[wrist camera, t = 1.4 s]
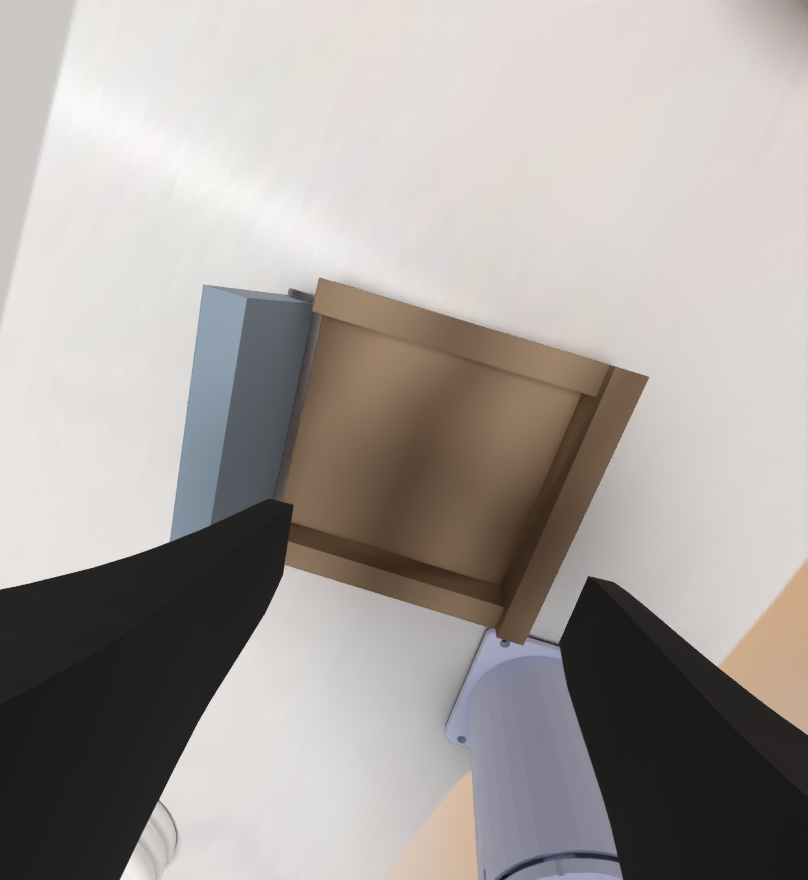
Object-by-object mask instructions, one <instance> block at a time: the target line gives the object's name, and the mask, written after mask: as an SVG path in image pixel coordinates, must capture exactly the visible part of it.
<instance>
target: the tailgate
mask: <svg viewBox="0 0 808 880" xmlns="http://www.w3.org/2000/svg"><path fill="white" fill-rule="evenodd" d="M314 296H315V295H313V294H310V293H307V292H303V291H300V290H296V289H292V288H289V291H288V295H282V294H274V293H266V292H258V291H250V290H242V289H234V288H226V287H218V286H210V285H203V291H202V299H201V306H200V314H199V322H198V329H197V337H196V345H195V352H194V360H193V368H192V375H191V383H190V391H189V399H188V406H187V414H186V422H185V429H184V437H183V445H182V452H181V460H180V468H179V475H178V483H177V491H176V499H175V506H174V514H173V522H172V529H171V537H170V542H171V541H174V540H176V539H179V538H181V537H184V536H186V535H189V534H191V533H194V532H196V531H199V530H201V529H203V528H206V527H208V526H210V525H212V524H214V523H217V522H219V521H221V520H223V519H225V518H228V517H230V516H232V515H234V514H236V513H238V512H240V511H243V510H245V509H247V508H249V507H251V506H253V505H255V504H258V503H260V502H262V501H264V500H267V499H273V500H274V496H275V491H276V486H277V481H278V477H279V472H280V467H281V462H282V458H283V453H284V448H285V443H286V439H287V434H288V429H289V424H290V420H291V415H292V410H293V405H294V400H295V396H296V391H297V386H298V381H299V377H300V372H301V367H302V362H303V358H304V353H305V348H306V343H307V339H308V334H309V329H310V324H311V320H312V315H313V312H312V309H313V304H314V303H313V300H314Z"/></svg>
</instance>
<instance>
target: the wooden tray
mask: <svg viewBox="0 0 808 880" xmlns="http://www.w3.org/2000/svg"><path fill="white" fill-rule="evenodd" d="M312 312H316V313H319V314H322V315H323V316H322V320H321V325H320V329H319V334H318V339H317V343H316V348H315V352H314V357H313V362H312V366H311V371H310V375H309V380H308V385H307V389H306V394H305V398H304V403H303V408H302V412H301V417H300V421H299V426H298V431H297V435H296V440H295V444H294V449H293V454H292V458H291V463H290V468H289V472H288V477H287V481H286V486H285V491H284V495H283V500H282V502H285V503H289V504H293V505H294V507H293V513H292V520H291V526H290V532H289V539H288V545H287V552H286V558H285V565H287V566H291V567H294V568H297V569H300V570H304V571H307V572H310V573H313V574H317V575H320V576H323V577H326V578H330V579H333V580H336V581H339V582H343V583H346V584H349V585H353V586H356V587H359V588H362V589H366V590H369V591H372V592H375V593H379V594H382V595H385V596H388V597H392V598H395V599H398V600H401V601H405V602H408V603H411V604H415V605H418V606H421V607H424V608H428V609H431V610H434V611H437V612H441V613H444V614H447V615H450V616H454V617H457V618H460V619H463V620H467V621H470V622H473V623H477V624H480V625H483V626H486V627H490V628H493V629H495V632H496V638H500V639H503V640H506V641H509V642H513V643H516V644H519V645H522V646H523V645H524V643H525V641H526V639H527V637H528V635H529V633H530V630H531V628H532V626H533V624H534V622H535V620H536V618H537V615H538V613H539V611H540V609H541V607H542V605H543V603H544V601H545V598H546V596H547V594H548V592H549V590H550V588H551V586H552V583H553V581H554V579H555V577H556V575H557V573H558V571H559V568H560V566H561V564H562V562H563V560H564V558H565V556H566V554H567V551H568V549H569V547H570V545H571V543H572V541H573V539H574V536H575V534H576V532H577V530H578V528H579V526H580V524H581V522H582V519H583V517H584V515H585V513H586V511H587V509H588V507H589V504H590V502H591V500H592V498H593V496H594V494H595V492H596V490H597V487H598V485H599V483H600V481H601V479H602V477H603V475H604V472H605V470H606V468H607V466H608V464H609V462H610V460H611V458H612V455H613V453H614V451H615V449H616V447H617V445H618V443H619V440H620V438H621V436H622V434H623V432H624V430H625V428H626V426H627V423H628V421H629V419H630V417H631V415H632V413H633V411H634V408H635V406H636V404H637V402H638V400H639V398H640V396H641V394H642V391H643V389H644V387H645V385H646V383H647V381H648V379H649V377H648V376H644V375H641V374H638V373H634V372H631V371H628V370H625V369H621V368H618V367H615V366H611V365H608V364H605V363H601V362H598V361H595V360H592V359H588V358H585V357H582V356H578V355H575V354H572V353H568V352H565V351H562V350H558V349H555V348H552V347H548V346H545V345H542V344H538V343H535V342H532V341H528V340H525V339H522V338H519V337H515V336H512V335H509V334H505V333H502V332H499V331H495V330H492V329H489V328H485V327H482V326H479V325H475V324H472V323H469V322H465V321H462V320H459V319H455V318H452V317H449V316H445V315H442V314H439V313H436V312H432V311H429V310H426V309H422V308H419V307H416V306H412V305H409V304H406V303H402V302H399V301H396V300H392V299H389V298H386V297H382V296H379V295H376V294H372V293H369V292H366V291H363V290H359V289H356V288H353V287H349V286H346V285H343V284H339V283H336V282H333V281H329V280H326V279H322V278H319V280H318V285H317V290H316V295H315V299H314V304H313V309H312Z"/></svg>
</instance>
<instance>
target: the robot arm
mask: <svg viewBox="0 0 808 880" xmlns="http://www.w3.org/2000/svg"><path fill="white" fill-rule="evenodd" d="M293 507H294V505H293V504H289V503H285V502H281V501H277V500H273V499H267V500H264V501H262V502H260V503H258V504H255V505H253V506H251V507H249V508H247V509H245V510H243V511H240V512H238V513H236V514H234V515H232V516H230V517H228V518H225V519H223V520H221V521H219V522H217V523H214V524H212V525H210V526H208V527H206V528H203V529H201V530H199V531H196V532H194V533H191V534H189V535H186V536H184V537H181V538H179V539H176V540H174V541H171V542H169V543H166V544H164V545H161V546H159V547H156V548H153V549H150V550H148V551H145V552H142V553H139V554H136V555H133V556H130V557H127V558H123V559H120V560H117V561H114V562H111V563H107V564H104V565H101V566H97V567H94V568H90V569H86V570H82V571H78V572H74V573H70V574H66V575H62V576H58V577H54V578H50V579H46V580H42V581H38V582H34V583H30V584H25V585H21V586H16V587H11V588H6V589H1V590H0V880H120V879H121V877H122V874H123V872H124V870H125V868H126V866H127V864H128V862H129V860H130V858H131V856H132V853H133V851H134V849H135V847H136V845H137V843H138V841H139V839H140V837H141V835H142V833H143V831H144V829H145V827H146V825H147V823H148V821H149V819H150V817H151V815H152V812H153V810H154V808H155V806H156V804H157V802H158V800H159V798H160V796H161V794H162V792H163V790H164V788H165V786H166V784H167V782H168V780H169V778H170V776H171V774H172V772H173V770H174V768H175V766H176V764H177V762H178V760H179V758H180V756H181V755H182V753H183V751H184V749H185V747H186V745H187V743H188V741H189V739H190V737H191V735H192V733H193V731H194V729H195V727H196V725H197V723H198V721H199V720H200V718H201V716H202V715H203V713H204V711H205V709H206V708H207V706H208V704H209V702H210V701H211V699H212V697H213V696H214V694H215V693H216V691H217V689H218V688H219V686H220V685H221V683H222V682H223V680H224V678H225V677H226V675H227V674H228V672H229V670H230V669H231V667H232V666H233V664H234V662H235V661H236V659H237V658H238V656H239V654H240V653H241V651H242V650H243V648H244V646H245V645H246V643H247V642H248V640H249V638H250V637H251V635H252V634H253V632H254V630H255V629H256V627H257V626H258V624H259V622H260V621H261V619H262V617H263V616H264V614H265V612H266V610H267V608H268V606H269V604H270V602H271V600H272V598H273V596H274V594H275V591H276V589H277V587H278V585H279V583H280V580H281V578H282V576H283V571H284V565H285V558H286V552H287V545H288V539H289V532H290V526H291V520H292V513H293ZM501 640H503V639H500V638H496V632H495V629H493V628H491V629H489V630H487V632H486V633H485V636H484V638H483V640H482V643H481V645H480V647H479V650H478V652H477V654H476V657H475V659H474V661H473V664H472V666H471V668H470V671H469V673H468V675H467V678H466V680H465V682H464V685H463V687H462V689H461V692H460V694H459V696H458V699H457V701H456V703H455V706H454V708H453V710H452V713H451V715H450V717H449V720H448V722H447V724H446V727H445V730H444V737H445V739H446V740H447V741H448V742H450V743H454V744H457V745H460V746H463V747H466V748H470V749H471V765H472V782H473V797H474V815H475V833H476V849H477V867H478V880H808V735H807V734H805V733H804V732H802V731H801V730H800V729H798V728H797V727H795V726H794V725H793V724H791V723H790V722H788V721H787V720H785V719H784V718H783V717H781V716H780V715H779V714H777V713H776V712H775V711H773V710H772V709H770V708H769V707H768V706H766V705H765V704H764V703H763V702H761V701H760V700H758V699H757V698H756V697H755V696H753V695H752V694H751V693H749V692H748V691H747V690H746V689H744V688H743V687H742V686H741V685H739V684H738V683H737V682H736V681H734V680H733V679H732V678H730V677H729V676H728V675H727V674H725V673H724V672H723V671H722V670H720V669H719V668H718V667H717V666H715V665H714V664H713V663H712V662H711V661H709V660H708V659H707V658H706V657H704V656H703V655H702V654H701V653H700V652H698V651H697V650H696V649H695V648H694V647H692V646H691V645H690V644H689V643H688V642H687V641H685V640H684V639H683V638H682V637H681V636H679V635H678V634H677V633H676V632H675V631H674V630H672V629H671V628H670V627H669V626H668V625H667V624H665V623H664V622H663V621H662V620H661V619H659V618H658V617H657V616H656V615H655V614H654V613H652V612H651V611H650V610H649V609H648V608H646V607H645V606H644V605H643V604H642V603H640V602H639V601H638V600H637V599H636V598H634V597H633V596H632V595H631V594H629V593H628V592H627V591H625V590H624V589H623V588H621V587H620V586H618V585H617V584H616V583H614V582H611V581H607V580H602V579H598V578H594V577H590V576H588V578H587V580H586V583H585V585H584V587H583V590H582V592H581V594H580V596H579V599H578V601H577V603H576V605H575V608H574V610H573V612H572V615H571V617H570V619H569V621H568V624H567V626H566V628H565V630H564V633H563V635H562V637H561V640H560V642H559V645H560V647H558V646H554V645H551V644H548V643H545V642H541V641H538V640H535V639H532V638H528V637H527V639H526V641H525V643H524V645H523V646H522V645H519V644H516V643H513V642H509V641H507V642H501Z"/></svg>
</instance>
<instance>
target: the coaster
mask: <svg viewBox="0 0 808 880" xmlns="http://www.w3.org/2000/svg"><path fill="white" fill-rule="evenodd" d="M175 844H176V832H175V827H174V824H173V821H172V819H171V817H170V815H169V814H168V812H167V811H166V809H165V808H164V807H163V806H162V804H161V803H160V802H159V801H158V802H157V804H156V806H155V808H154V810H153V812H152V815H151V817H150V819H149V821H148V823H147V825H146V827H145V829H144V831H143V833H142V835H141V837H140V839H139V841H138V843H137V845H136V847H135V849H134V851H133V853H132V856H131V858H130V860H129V862H128V864H127V866H126V868H125V870H124V872H123V874H122V877H121V879H120V880H160V879H161V877H162V875H163V872H164V868H165V866H166V864H167V863H168V862H169V861H170V859H171V857H172V855H173V852H174V848H175Z"/></svg>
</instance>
